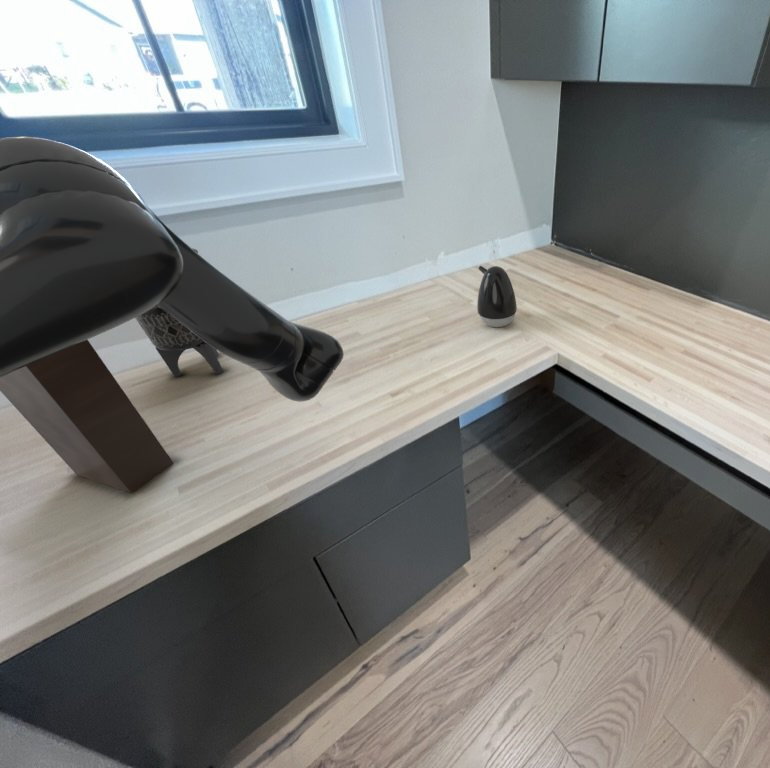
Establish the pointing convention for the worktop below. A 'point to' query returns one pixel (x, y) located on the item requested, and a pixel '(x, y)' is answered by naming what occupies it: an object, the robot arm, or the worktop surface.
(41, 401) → the stand
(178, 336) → the planter
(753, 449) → the worktop surface
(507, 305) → the pump dispenser
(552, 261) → the worktop surface
